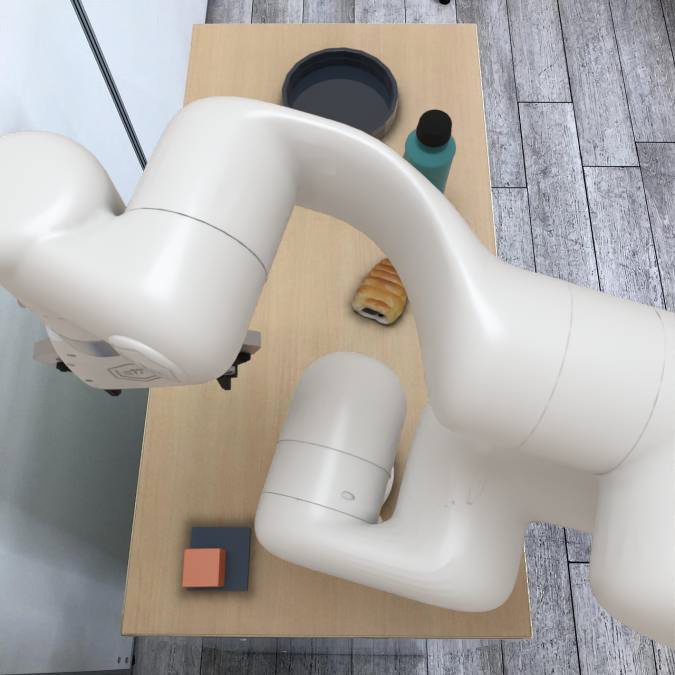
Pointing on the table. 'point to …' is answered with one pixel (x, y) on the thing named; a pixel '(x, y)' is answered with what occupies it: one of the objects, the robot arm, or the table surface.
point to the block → (204, 567)
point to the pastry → (381, 294)
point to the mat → (236, 553)
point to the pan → (344, 89)
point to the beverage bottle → (432, 147)
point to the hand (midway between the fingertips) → (172, 376)
